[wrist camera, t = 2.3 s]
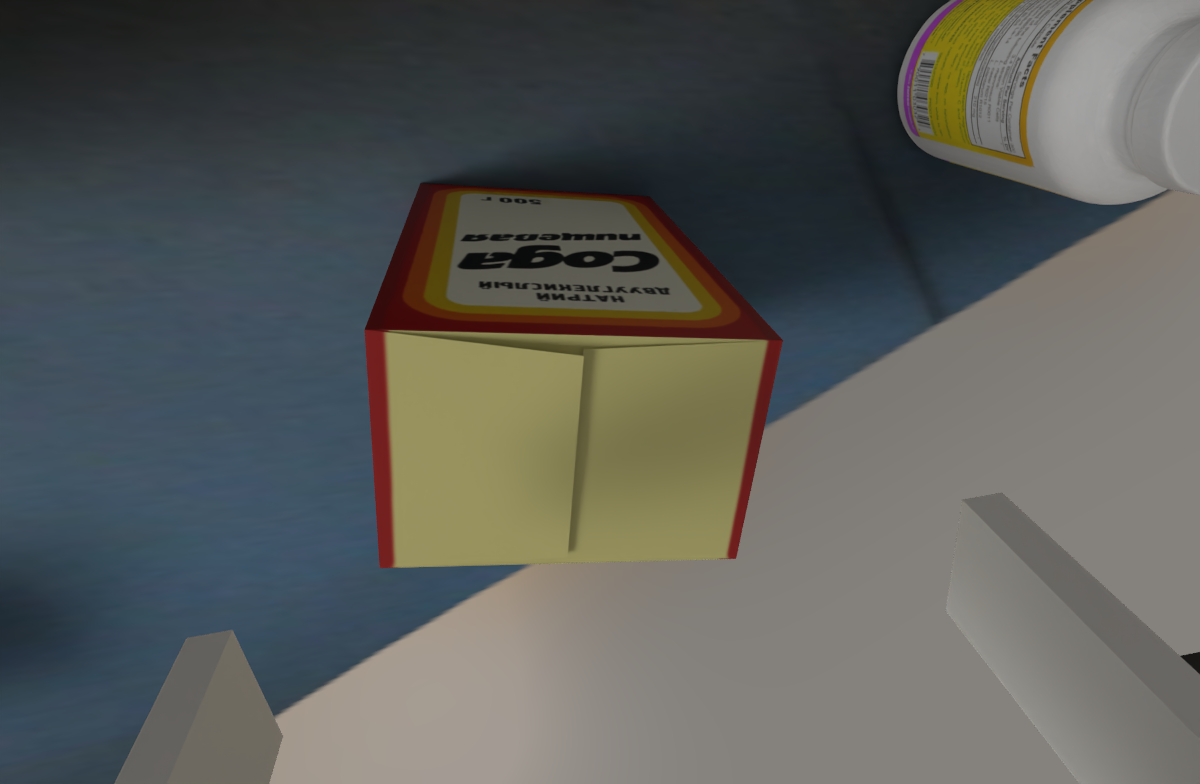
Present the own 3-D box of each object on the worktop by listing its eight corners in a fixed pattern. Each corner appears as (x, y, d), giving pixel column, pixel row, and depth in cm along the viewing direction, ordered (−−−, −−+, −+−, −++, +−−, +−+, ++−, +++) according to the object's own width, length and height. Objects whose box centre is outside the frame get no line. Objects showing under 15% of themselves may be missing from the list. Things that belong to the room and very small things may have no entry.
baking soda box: (649, 196, 31) (788, 346, 17) (633, 338, 34) (740, 567, 20) (420, 183, 29) (362, 336, 15) (424, 332, 32) (378, 577, 18)
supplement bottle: (1070, 62, 31) (1411, 87, 19) (952, 188, 33) (1201, 279, 21) (980, -56, 28) (1313, -104, 17) (858, 89, 30) (1084, 132, 19)
